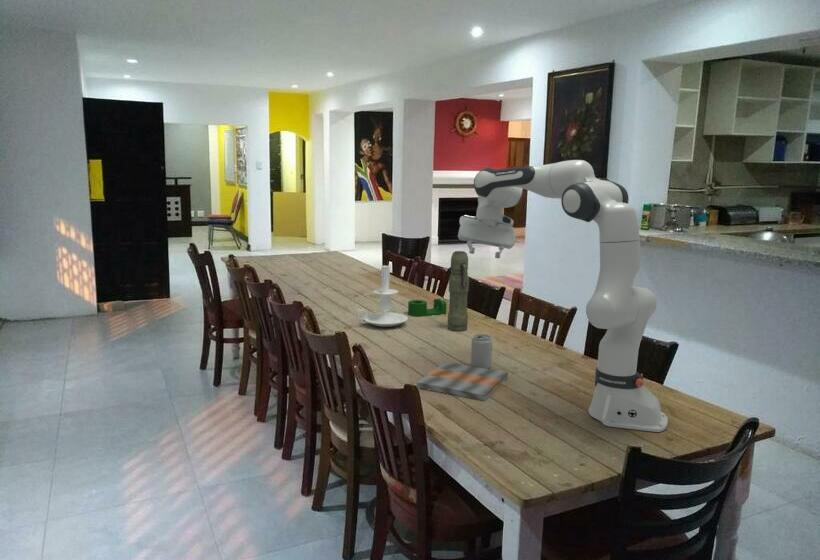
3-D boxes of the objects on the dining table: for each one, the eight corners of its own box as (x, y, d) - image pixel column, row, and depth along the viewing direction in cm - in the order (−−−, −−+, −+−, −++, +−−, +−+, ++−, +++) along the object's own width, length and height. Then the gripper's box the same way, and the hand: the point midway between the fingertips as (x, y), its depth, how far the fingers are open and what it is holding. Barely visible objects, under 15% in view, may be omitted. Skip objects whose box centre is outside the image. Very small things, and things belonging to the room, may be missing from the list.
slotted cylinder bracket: (412, 317, 297) (412, 304, 296) (405, 313, 305) (405, 300, 304) (446, 314, 304) (446, 302, 303) (438, 310, 312) (438, 298, 311)
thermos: (458, 324, 286) (460, 249, 279) (472, 330, 276) (475, 253, 269) (442, 326, 282) (444, 250, 275) (456, 333, 271) (458, 254, 264)
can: (479, 362, 233) (480, 331, 231) (495, 367, 228) (496, 336, 226) (466, 367, 228) (467, 335, 226) (482, 372, 223) (483, 340, 221)
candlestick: (347, 322, 286) (347, 263, 280) (394, 316, 298) (395, 259, 292) (366, 334, 268) (366, 270, 263) (415, 327, 280) (416, 266, 275)
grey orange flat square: (507, 377, 218) (507, 372, 217) (484, 401, 197) (484, 395, 196) (444, 366, 228) (444, 361, 228) (416, 387, 207) (416, 382, 206)
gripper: (462, 210, 217) (458, 247, 213) (518, 221, 220) (515, 257, 216) (457, 217, 223) (453, 253, 219) (512, 227, 226) (509, 263, 222)
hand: (484, 255), depth 218 cm, fingers open, 8 cm apart
